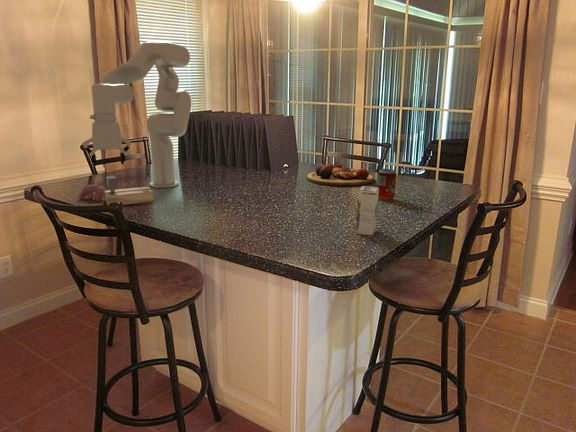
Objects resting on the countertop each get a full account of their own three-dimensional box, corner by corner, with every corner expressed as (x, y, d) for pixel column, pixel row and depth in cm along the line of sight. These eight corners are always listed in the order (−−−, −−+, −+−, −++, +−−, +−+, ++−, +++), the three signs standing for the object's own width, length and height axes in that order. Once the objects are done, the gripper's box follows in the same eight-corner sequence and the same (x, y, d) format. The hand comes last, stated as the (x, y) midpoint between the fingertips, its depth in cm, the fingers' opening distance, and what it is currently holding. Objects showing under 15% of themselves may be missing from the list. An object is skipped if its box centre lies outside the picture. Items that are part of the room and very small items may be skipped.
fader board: (105, 200, 189) (104, 190, 188) (149, 196, 196) (149, 186, 195) (107, 206, 182) (106, 195, 180) (153, 201, 189) (153, 191, 187)
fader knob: (107, 190, 187) (106, 176, 185) (115, 189, 188) (114, 175, 186) (109, 193, 182) (107, 178, 181) (117, 192, 184) (116, 178, 182)
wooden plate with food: (387, 182, 228) (388, 165, 226) (335, 189, 211) (336, 171, 208) (343, 172, 253) (344, 156, 251) (293, 178, 236) (294, 161, 234)
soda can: (390, 202, 190) (392, 172, 187) (373, 200, 194) (375, 170, 191) (397, 199, 196) (399, 169, 193) (381, 196, 200) (383, 167, 197)
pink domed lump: (105, 203, 191) (108, 186, 192) (97, 201, 186) (101, 183, 187) (84, 201, 194) (88, 184, 195) (76, 199, 189) (80, 181, 190)
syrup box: (358, 228, 158) (360, 185, 154) (376, 230, 157) (379, 187, 153) (355, 233, 153) (357, 189, 149) (374, 235, 151) (377, 191, 147)
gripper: (80, 119, 170) (84, 167, 175) (130, 118, 178) (134, 164, 182) (79, 117, 177) (83, 164, 181) (128, 117, 184) (131, 161, 189)
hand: (108, 164), depth 182 cm, fingers open, 9 cm apart
